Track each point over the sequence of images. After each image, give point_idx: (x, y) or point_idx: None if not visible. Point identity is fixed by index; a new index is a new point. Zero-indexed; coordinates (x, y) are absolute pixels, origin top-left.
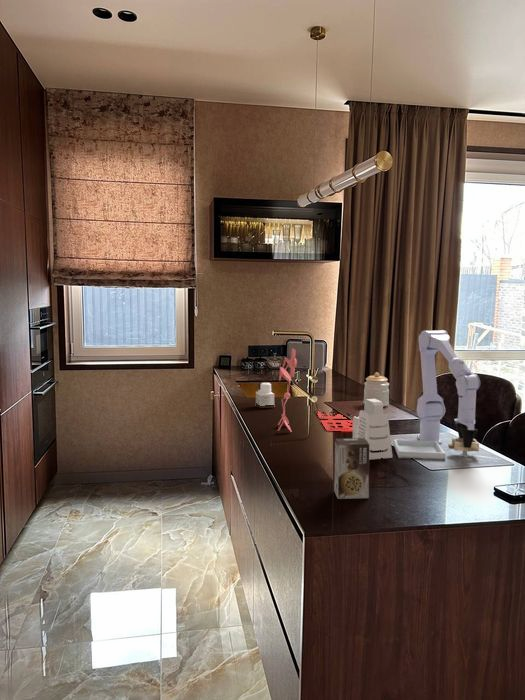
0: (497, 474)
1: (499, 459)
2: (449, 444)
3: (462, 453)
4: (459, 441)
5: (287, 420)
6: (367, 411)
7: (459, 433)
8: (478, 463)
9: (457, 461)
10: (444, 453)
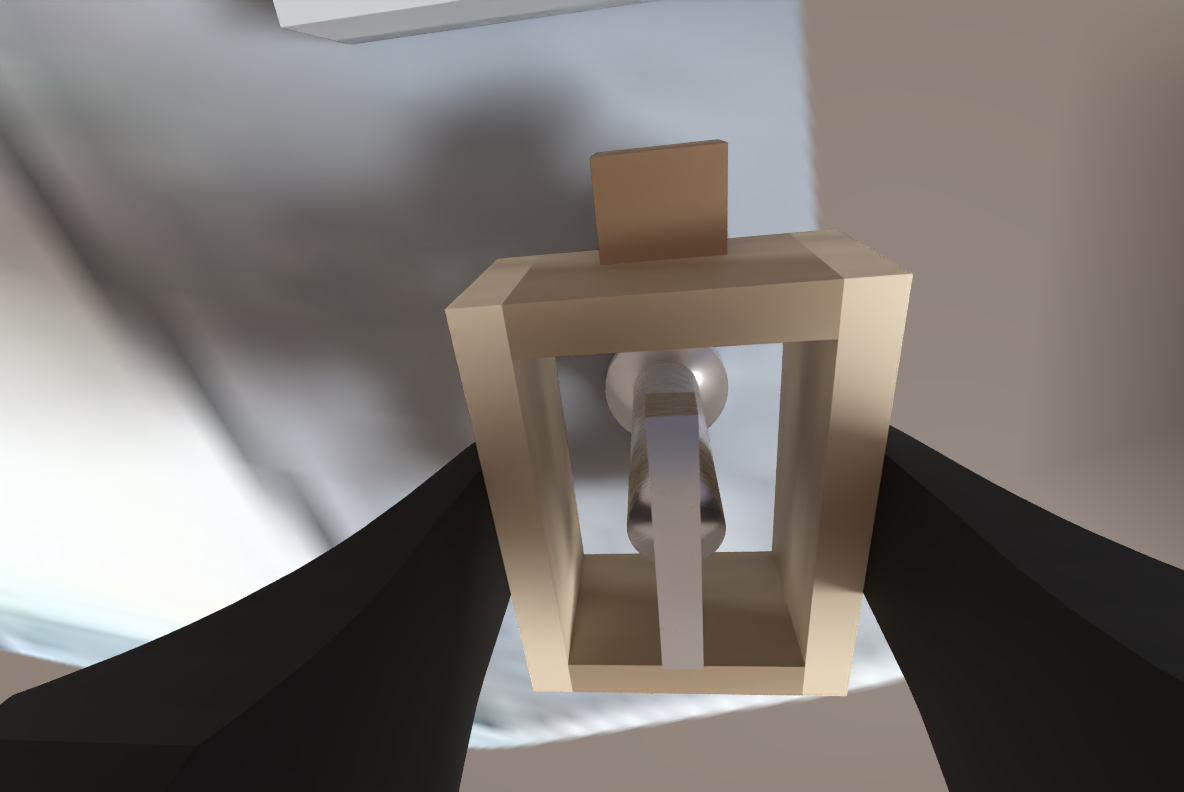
0: (115, 564)
1: None
2: (676, 165)
3: (663, 367)
4: (806, 415)
5: None
6: None
7: (958, 532)
8: (390, 479)
9: (364, 246)
10: (279, 5)
